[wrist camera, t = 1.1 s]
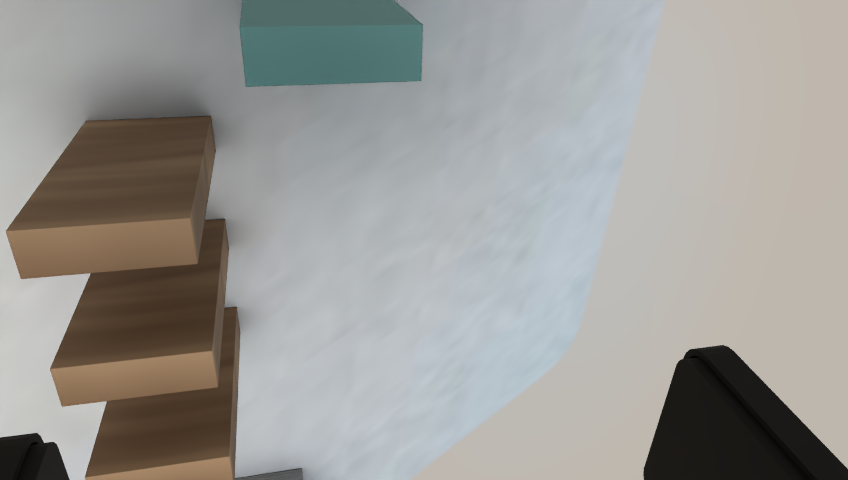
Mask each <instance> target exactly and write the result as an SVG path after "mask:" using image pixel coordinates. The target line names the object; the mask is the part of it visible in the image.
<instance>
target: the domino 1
mask: <svg viewBox="0 0 848 480" xmlns="http://www.w3.org/2000/svg"><path fill="white" fill-rule="evenodd" d="M215 152H216V149H215V142H214V135H213V127H212V120H211V116H195V117H170V118H145V119H120V120H95V121H86V122H85V123H84V124H83V126H82V127H81V128H80V130H79V131H78V133H77V134H76V135H75V137H74V138H73V139H72V141H71V142H70V144H69V145H68V146H67V148H66V149H65V150H64V152H63V153H62V155H61V156H60V157H59V159H58V160H57V161H56V163H55V164H54V166H53V167H52V168H51V170H50V171H49V172H48V174H47V175H46V177H45V178H44V179H43V181H42V182H41V183H40V185H39V186H38V188H37V189H36V190H35V192H34V193H33V194H32V196H31V197H30V199H29V200H28V201H27V203H26V204H25V205H24V207H23V208H22V210H21V211H20V212H19V214H18V215H17V216H16V218H15V219H14V221H13V222H12V223H11V225H10V226H9V227H8V229H7V230H6V234H7V237H8V240H9V243H10V246H11V249H12V253H13V256H14V259H15V262H16V265H17V268H18V271H19V274H20V277H21V279H27V278H38V277H50V276H62V275H74V274H85V273H97V272H109V271H121V270H132V269H144V268H156V267H167V266H179V265H191V264H198V258H199V252H200V246H201V239H202V233H203V227H204V221H205V214H206V208H207V202H208V196H209V189H210V183H211V177H212V171H213V164H214V158H215Z"/></svg>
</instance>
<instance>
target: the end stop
mask: <svg viewBox="0 0 848 480" xmlns="http://www.w3.org/2000/svg"><path fill="white" fill-rule="evenodd" d="M234 480H303V476H302V469H296V470H289V471H283V472H276V473H270V474H263V475H257V476H250V477H244V478H237V479H234Z"/></svg>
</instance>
